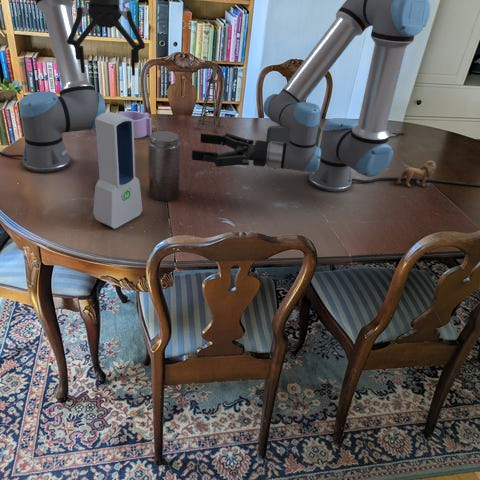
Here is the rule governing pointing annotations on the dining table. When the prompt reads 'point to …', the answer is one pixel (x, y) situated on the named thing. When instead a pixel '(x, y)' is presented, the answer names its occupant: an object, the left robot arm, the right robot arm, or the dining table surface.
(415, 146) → the dining table surface
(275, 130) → the handheld gaming console
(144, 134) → the clip
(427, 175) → the lion figurine
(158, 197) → the jar
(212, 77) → the dark tall lattice tower
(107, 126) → the electronic device
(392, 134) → the sword
